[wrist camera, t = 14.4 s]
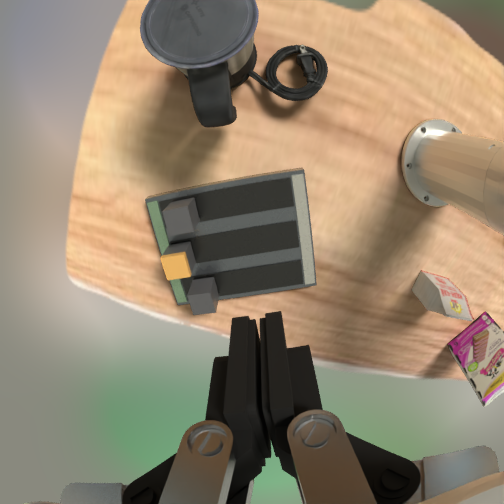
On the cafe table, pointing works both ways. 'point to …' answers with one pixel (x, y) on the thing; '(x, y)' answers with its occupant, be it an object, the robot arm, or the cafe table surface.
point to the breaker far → (203, 296)
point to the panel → (244, 234)
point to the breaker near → (181, 216)
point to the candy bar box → (481, 357)
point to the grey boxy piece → (441, 296)
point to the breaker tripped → (178, 261)
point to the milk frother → (220, 53)
